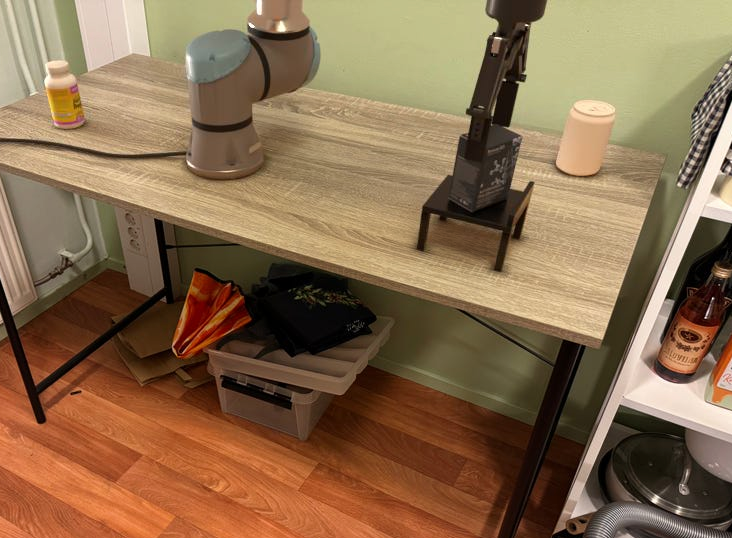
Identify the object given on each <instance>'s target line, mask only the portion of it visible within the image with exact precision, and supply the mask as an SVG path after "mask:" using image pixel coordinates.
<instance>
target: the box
mask: <svg viewBox="0 0 732 538" xmlns="http://www.w3.org/2000/svg"><path fill="white" fill-rule="evenodd" d="M468 133H469V132H466V133H462V134H459V138H458V141H457V142H458V143H457V148H456V154H455V159H454V163H453V164H454V165H453V170H452V174H451V175H452V181H451V186H450V192H449V199H451V200H452V201H454V202H455V203H457V204H459V205H460V206H462V207H464V208H466V209H467V210H469V211H471V212H474V211H476V210H479V209H482V208H484V207H487V206H489V205H492V204H495V203H497V202H500V201H503V200H506V199H508V195H509V191H510V189H511V187H512V182H513V178H514V174H515V170H516V166H517V162H518V157H519V152H520V149H521V145H522V142H523V141H522V140H523V135H522V134H519V133H517V132H515V131H513V130H510V129H508V128H507V127H502V126H500V125H498V124H491V128H490V133H489V138H488V143H487V148H486V153H485V157H484V161H483V163H480V162H476V161H471V160H467V159H464V155H465V149H466V144H467V138H468Z"/></svg>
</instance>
